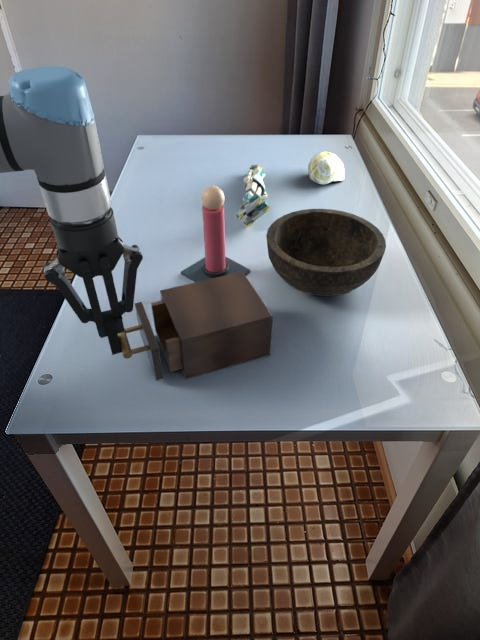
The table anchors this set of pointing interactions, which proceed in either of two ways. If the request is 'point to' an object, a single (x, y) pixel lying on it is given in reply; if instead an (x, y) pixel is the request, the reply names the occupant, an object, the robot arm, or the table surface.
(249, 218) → the figurine
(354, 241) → the bowl
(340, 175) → the seashell
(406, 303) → the table surface
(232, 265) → the mat
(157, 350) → the drawer
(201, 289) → the cabinet
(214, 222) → the ball-topped pink peg
